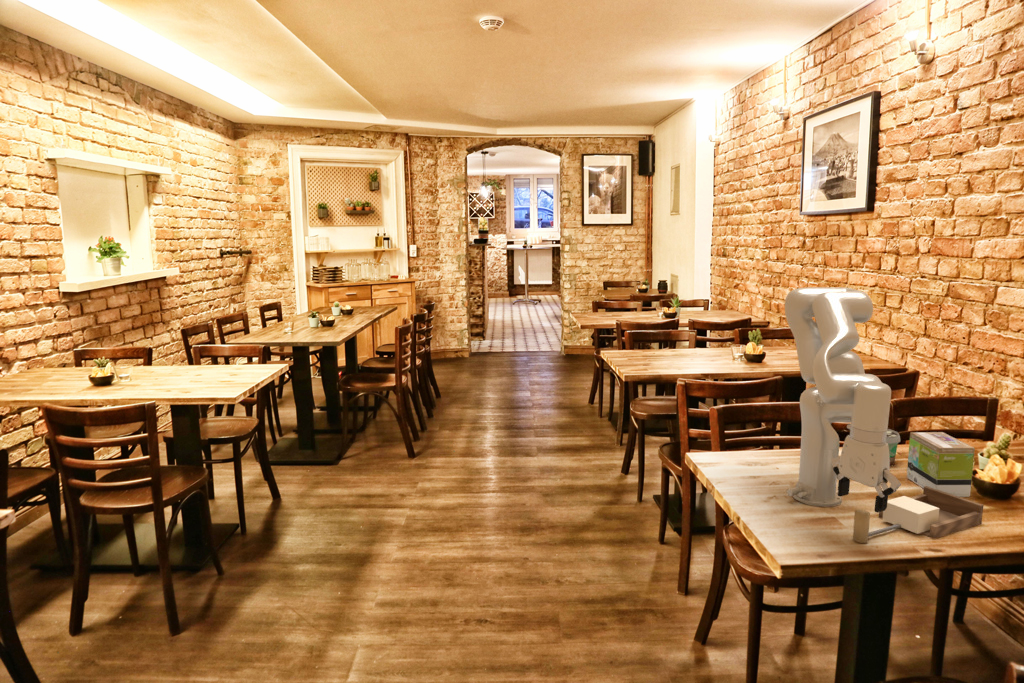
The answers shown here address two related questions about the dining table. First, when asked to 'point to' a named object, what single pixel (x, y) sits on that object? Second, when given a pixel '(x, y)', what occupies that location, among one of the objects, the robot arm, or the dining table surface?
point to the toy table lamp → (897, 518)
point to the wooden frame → (949, 512)
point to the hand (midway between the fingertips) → (861, 502)
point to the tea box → (940, 462)
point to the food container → (892, 444)
